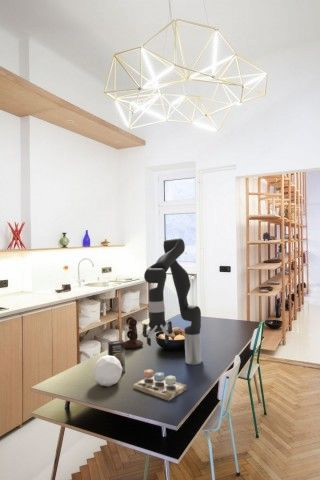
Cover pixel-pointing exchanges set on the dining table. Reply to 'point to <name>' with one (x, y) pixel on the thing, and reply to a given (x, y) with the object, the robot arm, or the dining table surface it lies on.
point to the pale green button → (170, 380)
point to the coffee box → (117, 351)
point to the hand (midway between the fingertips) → (158, 344)
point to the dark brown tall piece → (132, 335)
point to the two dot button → (148, 373)
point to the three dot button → (159, 376)
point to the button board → (159, 388)
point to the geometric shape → (107, 370)
